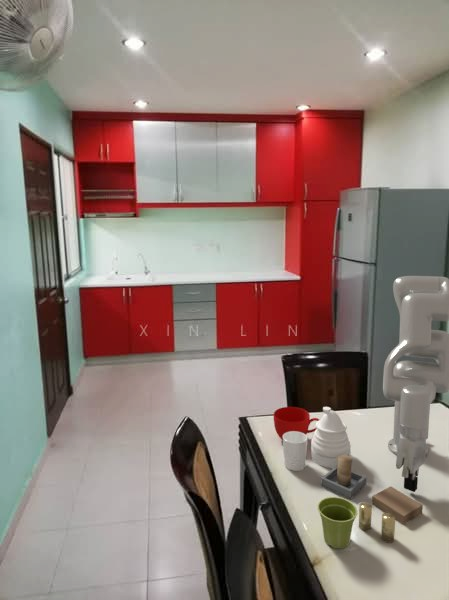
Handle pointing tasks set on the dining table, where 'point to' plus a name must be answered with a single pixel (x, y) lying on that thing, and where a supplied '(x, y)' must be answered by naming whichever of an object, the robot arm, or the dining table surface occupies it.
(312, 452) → the honey pot
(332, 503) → the plant pot
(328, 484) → the tray
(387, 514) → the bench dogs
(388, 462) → the dining table surface
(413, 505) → the brown wooden brick
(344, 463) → the dowel
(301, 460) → the white cup
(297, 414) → the ceramic cup
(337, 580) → the dining table surface
